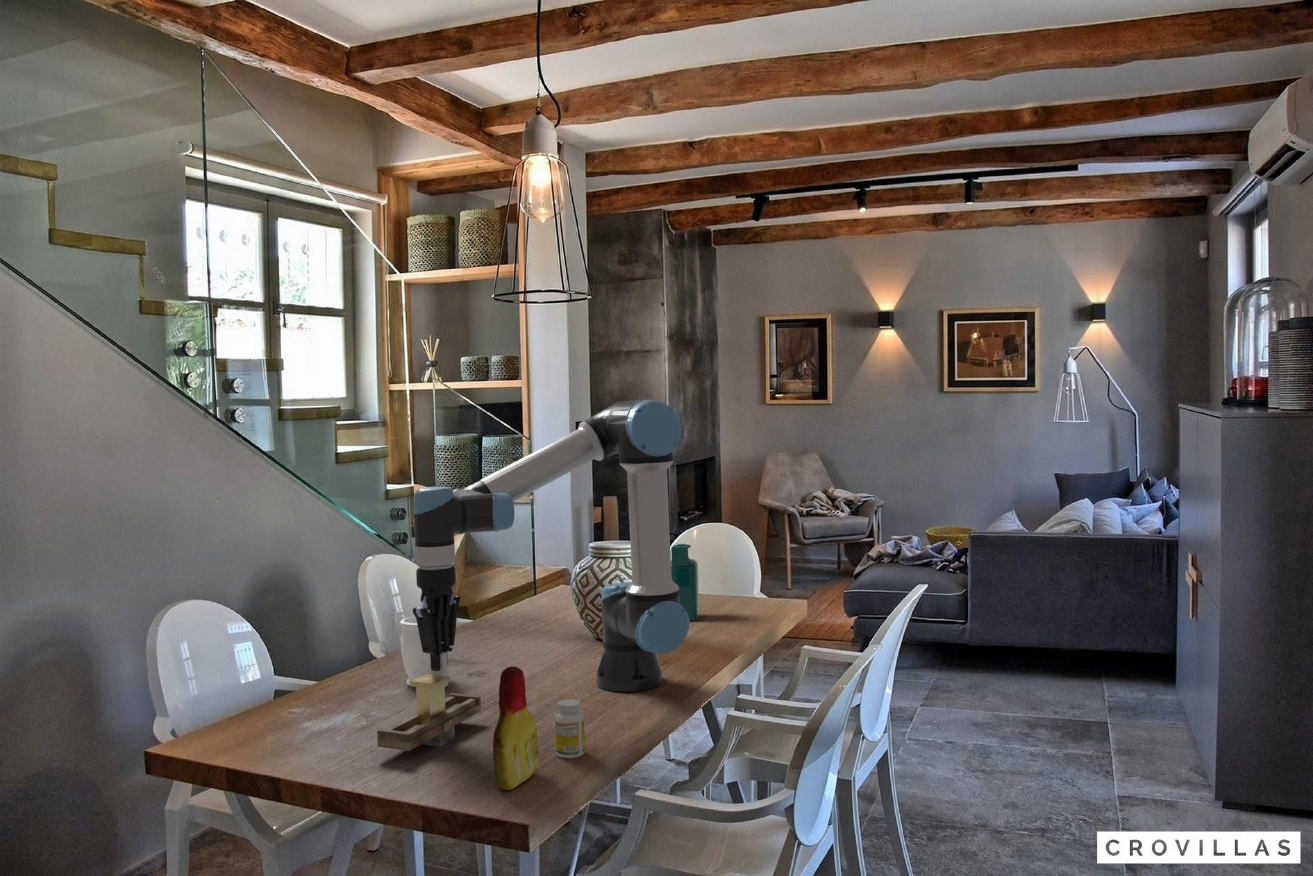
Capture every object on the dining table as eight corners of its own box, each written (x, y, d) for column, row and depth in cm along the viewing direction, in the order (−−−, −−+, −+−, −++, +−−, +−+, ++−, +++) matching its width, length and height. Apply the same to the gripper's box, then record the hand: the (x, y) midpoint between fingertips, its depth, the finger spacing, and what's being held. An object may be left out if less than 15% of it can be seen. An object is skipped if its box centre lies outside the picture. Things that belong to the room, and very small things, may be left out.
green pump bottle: (671, 615, 298) (669, 541, 297) (699, 615, 296) (697, 541, 295) (667, 622, 288) (664, 547, 287) (696, 622, 287) (694, 546, 286)
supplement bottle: (570, 761, 180) (568, 709, 180) (549, 755, 184) (548, 703, 183) (591, 752, 185) (589, 701, 184) (570, 746, 188) (569, 696, 188)
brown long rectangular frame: (451, 719, 206) (450, 693, 206) (482, 723, 203) (481, 696, 203) (377, 759, 184) (376, 730, 184) (410, 764, 181) (409, 734, 181)
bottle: (516, 797, 165) (512, 677, 164) (482, 793, 167) (478, 675, 166) (546, 770, 176) (542, 658, 175) (513, 767, 178) (509, 656, 177)
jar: (456, 678, 237) (454, 615, 236) (433, 690, 227) (431, 625, 226) (418, 675, 240) (415, 613, 239) (393, 687, 230) (390, 623, 230)
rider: (427, 714, 197) (425, 674, 196) (451, 717, 194) (449, 676, 194) (411, 722, 192) (410, 681, 192) (436, 725, 190) (434, 683, 190)
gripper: (438, 560, 202) (443, 675, 203) (399, 571, 190) (403, 693, 191) (470, 561, 200) (474, 678, 201) (432, 572, 187) (436, 696, 189)
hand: (440, 685), depth 196 cm, fingers closed
